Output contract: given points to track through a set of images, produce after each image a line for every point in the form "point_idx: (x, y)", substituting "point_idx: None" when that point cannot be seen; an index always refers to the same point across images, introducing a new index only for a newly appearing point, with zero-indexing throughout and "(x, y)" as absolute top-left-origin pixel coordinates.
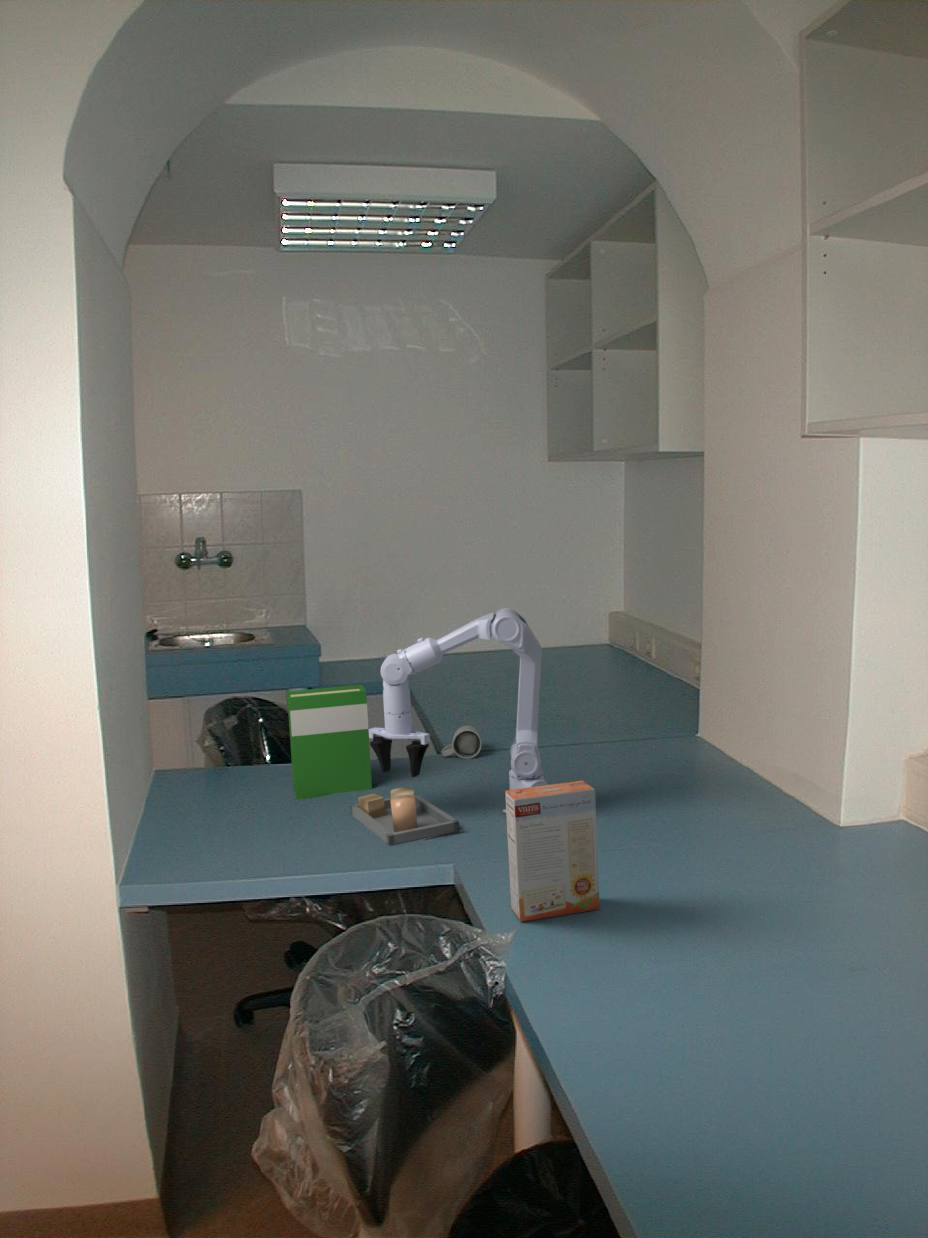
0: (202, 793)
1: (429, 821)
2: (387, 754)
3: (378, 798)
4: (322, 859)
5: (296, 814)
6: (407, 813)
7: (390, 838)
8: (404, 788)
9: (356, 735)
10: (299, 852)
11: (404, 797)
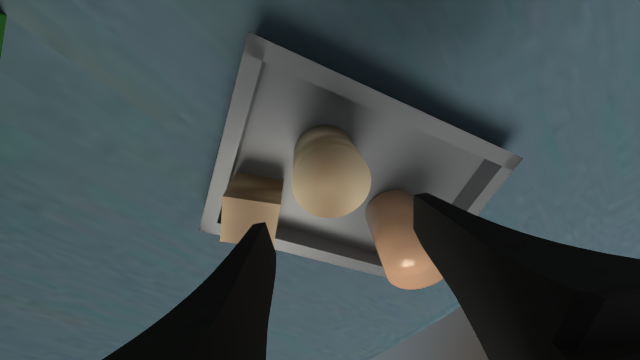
0: None
1: (408, 147)
2: (250, 298)
3: (272, 217)
4: (348, 334)
5: (107, 267)
6: None
7: None
8: (318, 163)
9: None
10: (299, 339)
11: (418, 258)
